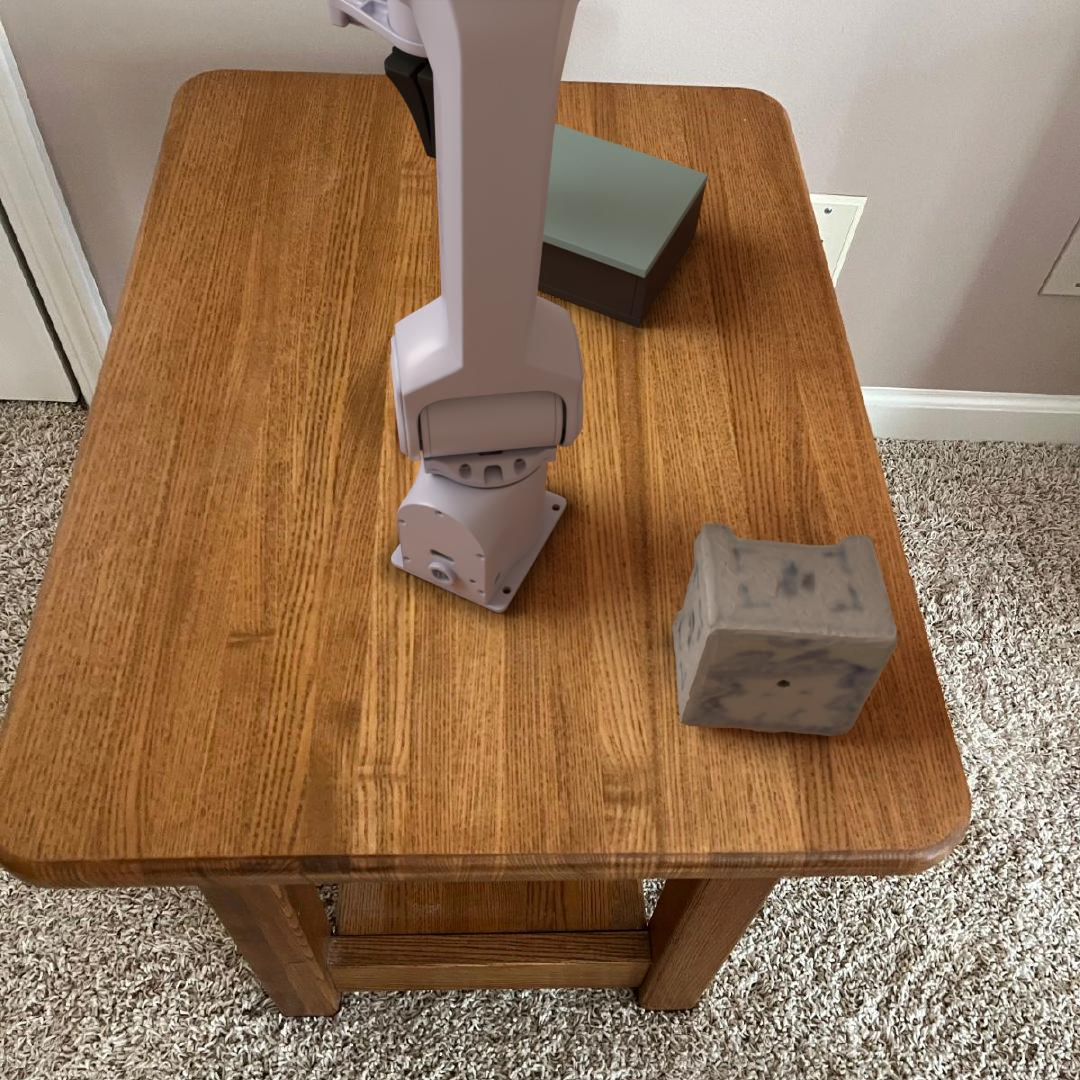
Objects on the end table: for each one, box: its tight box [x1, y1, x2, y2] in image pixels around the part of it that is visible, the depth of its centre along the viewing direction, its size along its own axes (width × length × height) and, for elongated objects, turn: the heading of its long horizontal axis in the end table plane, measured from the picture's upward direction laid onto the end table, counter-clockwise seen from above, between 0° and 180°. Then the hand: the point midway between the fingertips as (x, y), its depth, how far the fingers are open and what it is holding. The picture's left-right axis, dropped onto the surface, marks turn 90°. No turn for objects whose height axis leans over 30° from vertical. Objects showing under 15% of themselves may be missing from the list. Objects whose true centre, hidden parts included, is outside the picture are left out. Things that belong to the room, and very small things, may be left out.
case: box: [538, 183, 707, 329], centre depth 76 cm, size 12×14×5 cm
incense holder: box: [671, 522, 899, 737], centre depth 54 cm, size 10×8×10 cm
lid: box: [543, 123, 709, 278], centre depth 73 cm, size 12×14×1 cm
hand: (441, 150), depth 68 cm, fingers closed
